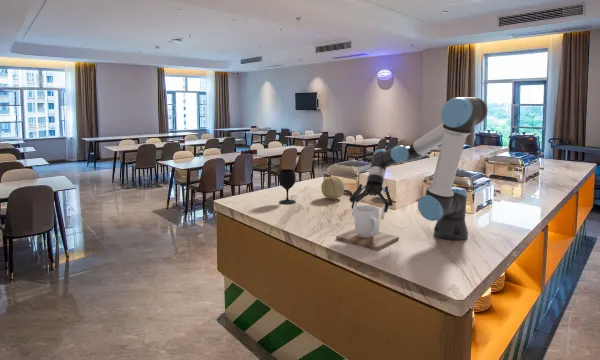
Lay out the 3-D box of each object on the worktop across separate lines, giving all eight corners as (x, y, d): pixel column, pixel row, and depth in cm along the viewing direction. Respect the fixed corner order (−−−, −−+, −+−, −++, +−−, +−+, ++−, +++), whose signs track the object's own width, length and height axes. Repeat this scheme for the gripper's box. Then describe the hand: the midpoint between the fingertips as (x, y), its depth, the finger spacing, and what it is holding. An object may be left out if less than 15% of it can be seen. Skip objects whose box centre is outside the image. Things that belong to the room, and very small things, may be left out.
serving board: (398, 239, 193) (398, 236, 193) (377, 250, 180) (377, 247, 180) (358, 230, 208) (358, 227, 207) (336, 239, 194) (336, 236, 194)
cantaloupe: (343, 202, 261) (343, 178, 258) (319, 201, 264) (319, 177, 261) (345, 196, 275) (345, 174, 272) (323, 195, 278) (323, 173, 275)
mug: (387, 240, 188) (388, 211, 186) (366, 243, 184) (367, 214, 181) (369, 230, 202) (370, 204, 199) (349, 233, 197) (349, 206, 195)
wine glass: (276, 203, 258) (276, 171, 254) (282, 199, 268) (281, 168, 264) (292, 204, 255) (292, 172, 252) (298, 200, 265) (297, 169, 261)
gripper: (402, 184, 202) (395, 223, 192) (352, 180, 212) (343, 217, 202) (401, 175, 197) (393, 215, 186) (349, 172, 206) (339, 209, 196)
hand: (367, 216), depth 194 cm, fingers open, 13 cm apart
